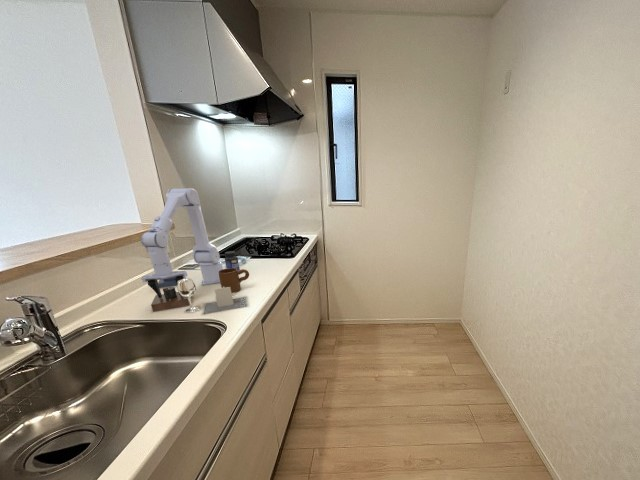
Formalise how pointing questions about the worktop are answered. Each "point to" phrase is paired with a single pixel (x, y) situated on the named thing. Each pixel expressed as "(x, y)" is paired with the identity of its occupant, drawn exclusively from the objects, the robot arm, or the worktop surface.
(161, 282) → the button box
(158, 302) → the panel
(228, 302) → the architectural model
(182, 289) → the wineglass
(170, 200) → the robot arm
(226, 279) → the mug
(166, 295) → the knob
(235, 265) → the pill bottle
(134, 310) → the worktop surface
